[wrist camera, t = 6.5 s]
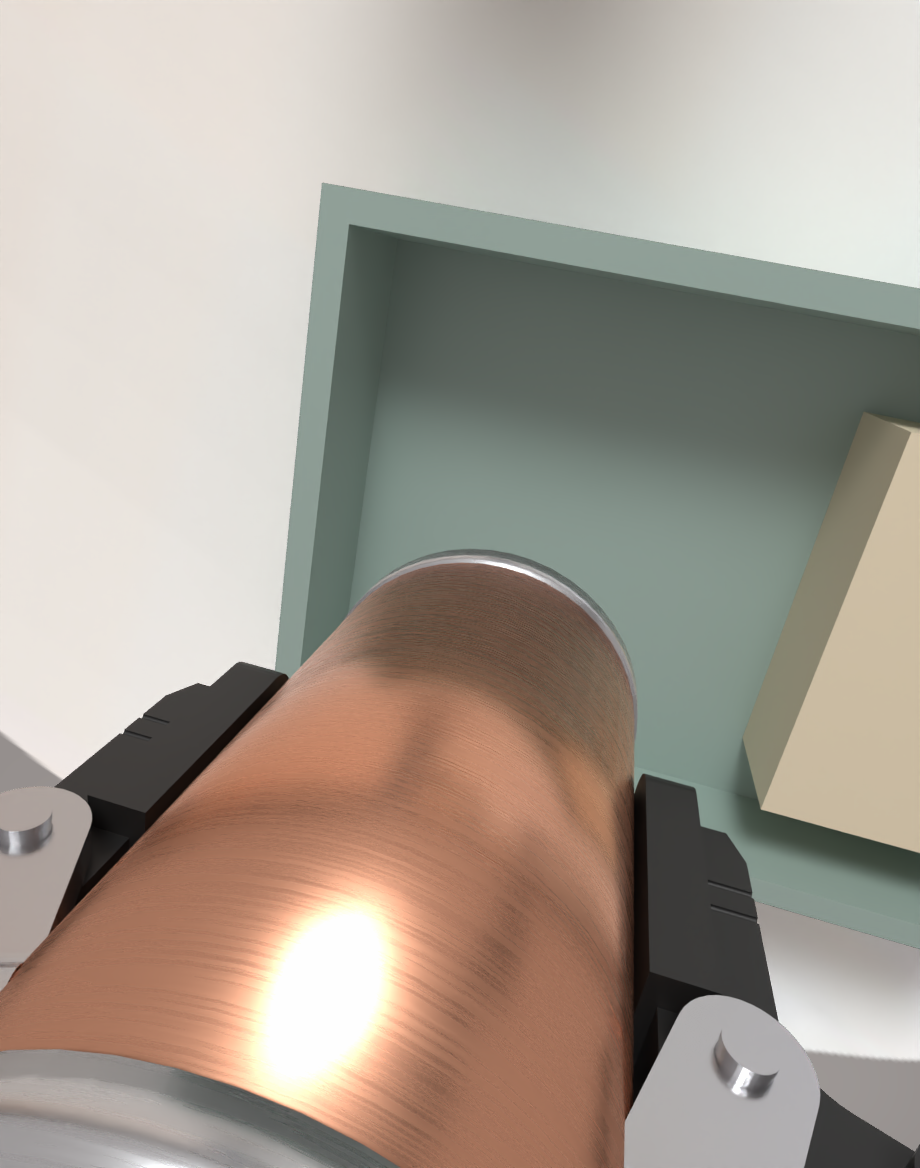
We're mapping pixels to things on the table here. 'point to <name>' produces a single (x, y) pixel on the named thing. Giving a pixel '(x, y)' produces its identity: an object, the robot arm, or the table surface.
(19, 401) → the table surface
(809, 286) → the tray
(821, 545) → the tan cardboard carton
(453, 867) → the can
